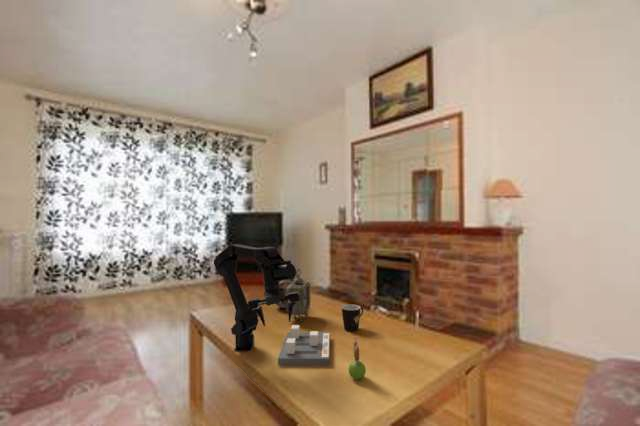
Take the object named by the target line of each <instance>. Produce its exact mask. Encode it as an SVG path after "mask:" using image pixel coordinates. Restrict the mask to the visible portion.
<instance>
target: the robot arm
mask: <svg viewBox="0 0 640 426" xmlns="http://www.w3.org/2000/svg"><path fill="white" fill-rule="evenodd" d="M240 257H244V258H250V259H253V260H254V261H255V262H256V263H259V264H260V265H259V266H258V267H257V271H261V272H262V280H263V287H264V293H263V295H264V298H262V299H260V297H255V298H250V299H249V300H248V301H247V298H246V297H245V294H244V291H243V288H242V286H241V284H240V281H239V278H238V276H237V273H236V271H237V267H238V265H237V261H238V260H239V259H240ZM213 265H214V268H215V270H216V273H218V274H219V275H220V276H221V277H222V278H223V279H224V282H225V284H226V287H227V289H228V293H229V295H230V297H231V300H232V303H233V306H234V309H235V314H234V321H235V323H234V324H233V326H232V327H231V328H230V330H231V335H234V336H235V347H234V351H236V352H237V351H243V352H244V351H247V352H249V351H251V350H252V348H253V347H254V346H255V334H254V331H256V330H257V326H258V324H259V320H260V321H261V323H262V325H263V327H266V322H265V321H266V320H265V317H264V311H263V308H262V305H266V306H271V305H276V304H279V303H280V302H281V301H287V300H288V306H289V313H288V322H289V323H290V322H291V318H292V314H291V313H292V308H293V305H294V304H296V301H300V299H299V293H298V292H297V291H296V292H290V293H288V295H286V296H285V295H284V288H281V289H280V283H279V282H280V281H291V280H295V279H296V271H297V269H296V267H295V265H294V264H293V263H292V262H291V260H285V259H284V258H283V256H281V254H280V253H279V251H278V250H277V248H276V247H275V246H266V247H255V246H250V245H249V246H248V245H243V244H239V243H235V244H234V243H233V244H230V245H227V247H226V248H225V249H223V250H222V251H221V252H220V253H218V254H217V256H215V258H214V259H213Z"/></svg>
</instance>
